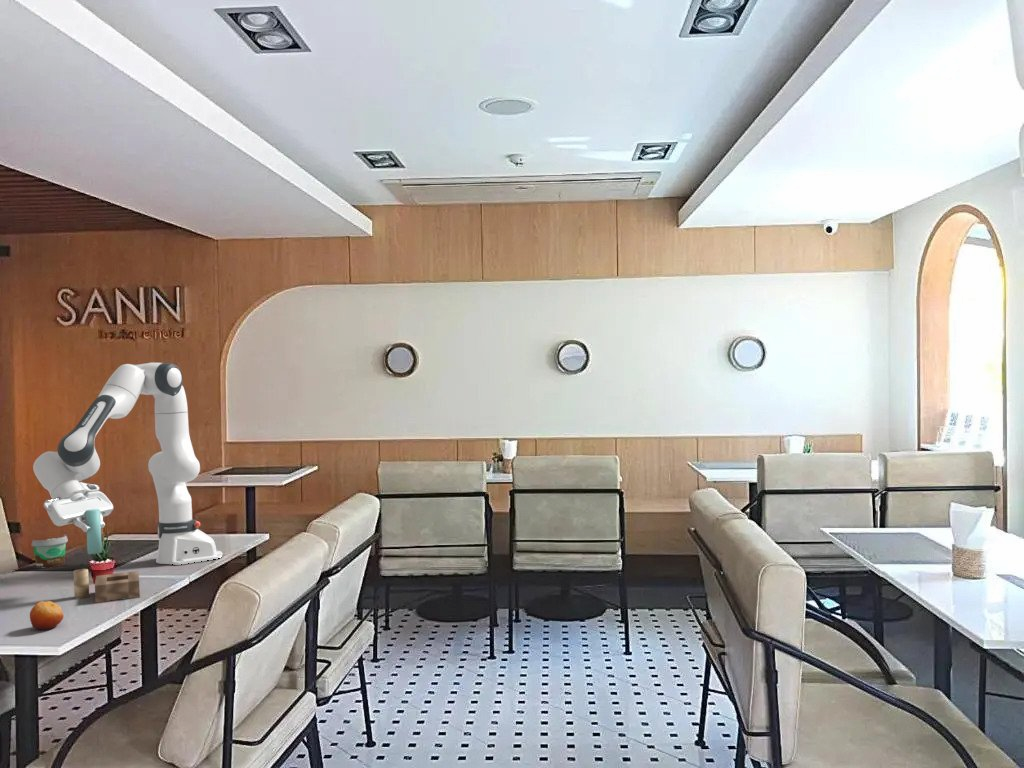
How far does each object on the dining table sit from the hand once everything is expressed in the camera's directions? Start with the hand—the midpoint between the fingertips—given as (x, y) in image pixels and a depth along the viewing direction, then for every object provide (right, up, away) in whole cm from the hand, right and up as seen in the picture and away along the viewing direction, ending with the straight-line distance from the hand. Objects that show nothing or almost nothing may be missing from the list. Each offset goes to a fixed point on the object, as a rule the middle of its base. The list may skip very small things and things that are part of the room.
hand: (95, 528), depth 268 cm
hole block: (+7, -20, -1) cm, 21 cm away
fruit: (+3, -21, -34) cm, 40 cm away
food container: (-35, -20, +43) cm, 59 cm away
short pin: (-3, -20, -2) cm, 21 cm away
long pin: (0, -7, 0) cm, 7 cm away
